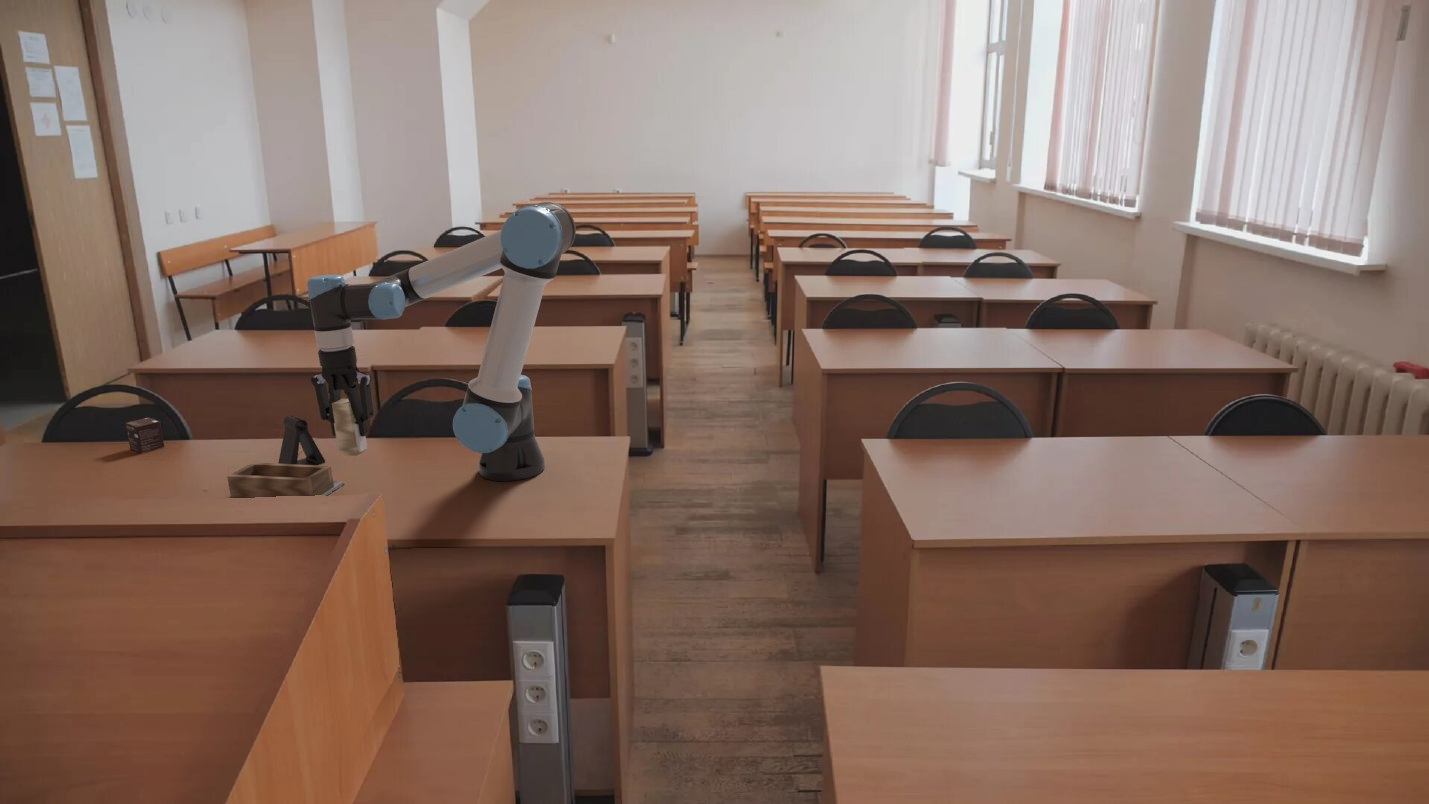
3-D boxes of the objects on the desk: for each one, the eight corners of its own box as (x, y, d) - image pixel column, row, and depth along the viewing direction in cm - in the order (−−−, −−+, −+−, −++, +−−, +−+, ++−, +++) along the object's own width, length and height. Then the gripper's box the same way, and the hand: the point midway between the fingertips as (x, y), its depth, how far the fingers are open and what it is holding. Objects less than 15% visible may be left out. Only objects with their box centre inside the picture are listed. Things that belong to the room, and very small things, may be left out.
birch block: (366, 449, 211) (358, 398, 208) (356, 455, 207) (348, 403, 204) (350, 449, 212) (341, 398, 209) (340, 455, 208) (331, 403, 205)
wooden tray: (344, 484, 215) (341, 460, 213) (302, 512, 200) (298, 486, 198) (265, 480, 218) (262, 457, 217) (219, 507, 203) (214, 482, 202)
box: (129, 450, 242) (124, 422, 240) (154, 443, 247) (149, 416, 245) (140, 454, 239) (135, 426, 237) (165, 447, 243) (160, 420, 241)
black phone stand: (289, 472, 223) (281, 424, 220) (277, 467, 227) (270, 419, 224) (325, 462, 230) (318, 415, 226) (313, 457, 234) (307, 411, 230)
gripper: (381, 343, 205) (396, 444, 211) (310, 343, 208) (327, 443, 215) (362, 351, 198) (379, 455, 204) (290, 351, 201) (308, 454, 208)
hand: (353, 449), depth 209 cm, fingers closed on birch block, 4 cm apart
